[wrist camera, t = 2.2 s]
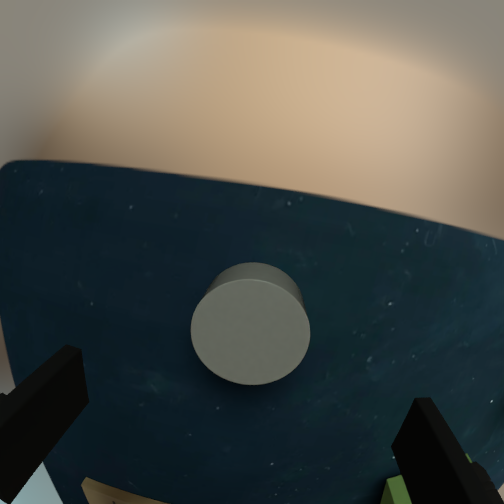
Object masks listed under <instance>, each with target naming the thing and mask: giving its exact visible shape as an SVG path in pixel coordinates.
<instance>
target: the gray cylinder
mask: <svg viewBox="0 0 504 504" xmlns="http://www.w3.org/2000/svg"><path fill="white" fill-rule="evenodd" d="M191 338H192V343H193V346H194V349H195V351H196V353H197V355H198V356H199V358H200V359H201V361H202V362H203V363H204V364H205V365H206V366H207V367H208V368H209V369H210V370H211V371H212V372H214V373H215V374H217V375H218V376H220V377H222V378H224V379H226V380H228V381H231V382H235V383H239V384H246V385H259V384H266V383H270V382H273V381H276V380H278V379H280V378H282V377H284V376H286V375H287V374H289V373H290V372H291V371H293V370H294V369H295V368H296V367H297V366H298V364H299V363H300V362H301V361H302V359H303V358H304V356H305V354H306V352H307V349H308V346H309V341H310V326H309V321H308V316H307V312H306V308H305V304H304V300H303V297H302V294H301V292H300V290H299V288H298V286H297V285H296V283H295V282H294V281H293V280H292V279H291V278H290V277H289V276H288V275H287V274H286V273H284V272H283V271H281V270H280V269H278V268H276V267H273V266H271V265H268V264H263V263H254V262H252V263H243V264H238V265H235V266H232V267H230V268H228V269H226V270H225V271H223V272H221V273H220V274H219V275H218V276H217V277H216V278H215V279H214V280H213V281H212V283H211V284H210V286H209V287H208V289H207V290H206V292H205V294H204V295H203V297H202V299H201V301H200V302H199V304H198V306H197V307H196V309H195V312H194V314H193V317H192V321H191Z"/></svg>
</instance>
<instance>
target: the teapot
mask: <svg viewBox="0 0 504 504" xmlns="http://www.w3.org/2000/svg"><path fill="white" fill-rule="evenodd" d="M465 455H466V456H467V458H468V460H469V461H470V463H472V461H471V459H470V458H469V456H468V454H465ZM380 504H412V503H411V500H410V497H409V494H408V492H407V489H406V486H405V483H404V480H403V477H402V475H399V476H396V477H393V478H389V479H387V481H386V484H385V488H384V492H383V496H382V499H381V503H380Z"/></svg>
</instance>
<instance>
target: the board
mask: <svg viewBox="0 0 504 504" xmlns="http://www.w3.org/2000/svg"><path fill="white" fill-rule="evenodd" d="M81 486H82V488H83V491H84V493H85V495H86V498H87V500H88V502H89V504H168V503H164V502H160V501H156V500H153V499H149V498H145V497H142V496H139V495H135V494H132V493H129V492H126V491H123V490H120V489H117V488H114V487H111V486H108V485H105V484H103V483H100V482H97V481H95V480H92V479H90V478H87V477H86V478H85V479H84V481H83V483H82V484H81Z"/></svg>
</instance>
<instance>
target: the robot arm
mask: <svg viewBox="0 0 504 504" xmlns="http://www.w3.org/2000/svg"><path fill="white" fill-rule="evenodd" d="M88 403H89V398H88V393H87V387H86V380H85V374H84V367H83V359H82V351H81V349H79V348H76V347H73V346H70V345H67V344H66V345H65V346H64V347H62V348H61V349H60V350H59V351H58V352H56V353H55V354H54V355H53V356H52V357H51V358H49V359H48V360H47V361H46V362H45V363H43V364H42V365H41V366H40V367H39V368H38V369H36V370H35V371H34V372H33V373H32V374H31V375H30V376H28V377H27V378H26V379H25V380H24V381H23V382H21V383H20V384H19V385H18V386H17V387H16V388H15V389H14V390H12V391H11V392H10V393H9V394H8V395H5V394H4V393H1V394H0V499H1V500H2V501H4V502H5V503H7V504H11V503H12V501H13V500H14V499H15V497H16V496H17V495H18V493H19V492H20V490H21V489H22V488H23V487H24V485H25V484H26V483H27V481H28V480H29V479H30V477H31V476H32V475H33V473H34V472H35V471H36V469H37V468H38V467H39V465H40V464H41V463H42V461H43V460H44V459H45V458H46V456H47V455H48V454H49V452H50V451H51V450H52V448H53V447H54V446H55V445H56V443H57V442H58V441H59V439H60V438H61V437H62V436H63V434H64V433H65V432H66V431H67V429H68V428H69V427H70V425H71V424H72V423H73V422H74V420H75V419H76V418H77V417H78V415H79V414H80V413H81V412H82V410H83V409H84V408H85V407H86V405H87V404H88ZM391 448H392V450H393V453H394V456H395V458H396V461H397V464H398V466H399V469H400V472H401V475H402V477H403V480H404V483H405V486H406V489H407V492H408V494H409V497H410V500H411V503H412V504H504V502H503V500H502V498H501V496H500V494H499V493H498V491H497V489H495V486H494V484H493V482H492V481H491V479H490V477H489V475H488V474H487V472H486V470H485V469H484V468H483V467H482V466H480V465H479V464H478V463H477V462H472V463H470V461H469V460H468V458H467V456H466V455H465V453H464V451H463V449H462V448H461V446H460V444H459V443H458V441H457V439H456V438H455V436H454V434H453V433H452V431H451V429H450V428H449V426H448V425H447V423H446V421H445V420H444V418H443V417H442V415H441V413H440V412H439V410H438V409H437V407H436V405H435V404H434V402H433V401H432V399H431V398H415V399H414V401H413V403H412V405H411V408H410V410H409V412H408V414H407V416H406V418H405V420H404V422H403V424H402V426H401V428H400V430H399V432H398V434H397V436H396V438H395V440H394V442H393V444H392V446H391Z"/></svg>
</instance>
